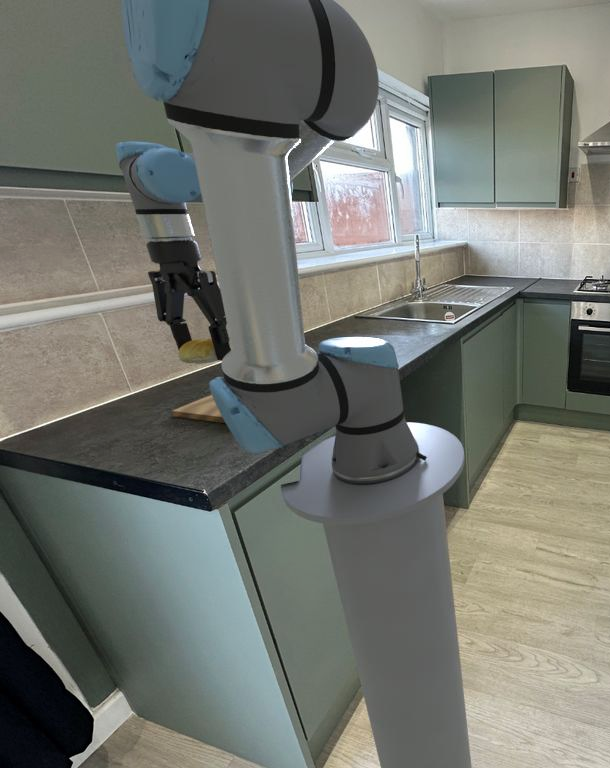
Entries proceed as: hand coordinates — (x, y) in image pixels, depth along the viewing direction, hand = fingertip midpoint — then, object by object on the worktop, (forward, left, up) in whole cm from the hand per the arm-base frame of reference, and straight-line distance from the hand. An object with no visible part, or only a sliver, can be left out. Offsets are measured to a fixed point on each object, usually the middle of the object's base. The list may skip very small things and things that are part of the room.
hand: (206, 356), depth 84 cm
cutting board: (+7, -8, -16) cm, 19 cm away
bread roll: (0, 0, 0) cm, 1 cm away
